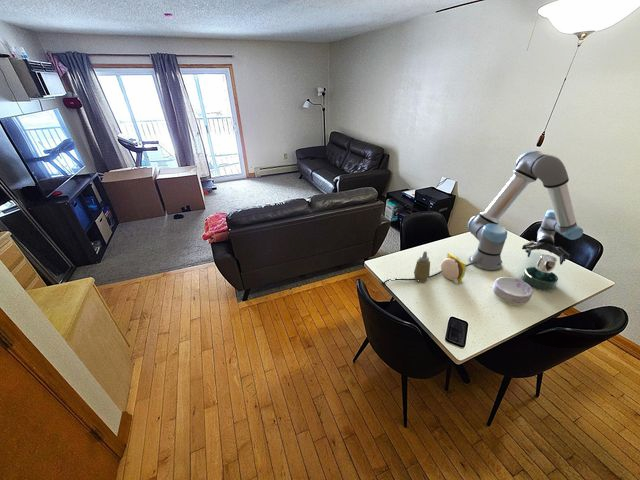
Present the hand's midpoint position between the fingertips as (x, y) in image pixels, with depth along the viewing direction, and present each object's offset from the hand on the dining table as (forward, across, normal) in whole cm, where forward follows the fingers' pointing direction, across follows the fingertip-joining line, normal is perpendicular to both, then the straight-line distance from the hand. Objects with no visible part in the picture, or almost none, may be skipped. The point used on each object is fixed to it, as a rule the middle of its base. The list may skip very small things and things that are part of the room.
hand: (545, 258), depth 137 cm
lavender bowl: (+29, +11, -11) cm, 33 cm away
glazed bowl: (+7, 0, -11) cm, 13 cm away
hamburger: (+27, +38, -11) cm, 48 cm away
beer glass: (+7, 0, -11) cm, 13 cm away
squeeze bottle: (+37, +51, -11) cm, 64 cm away
